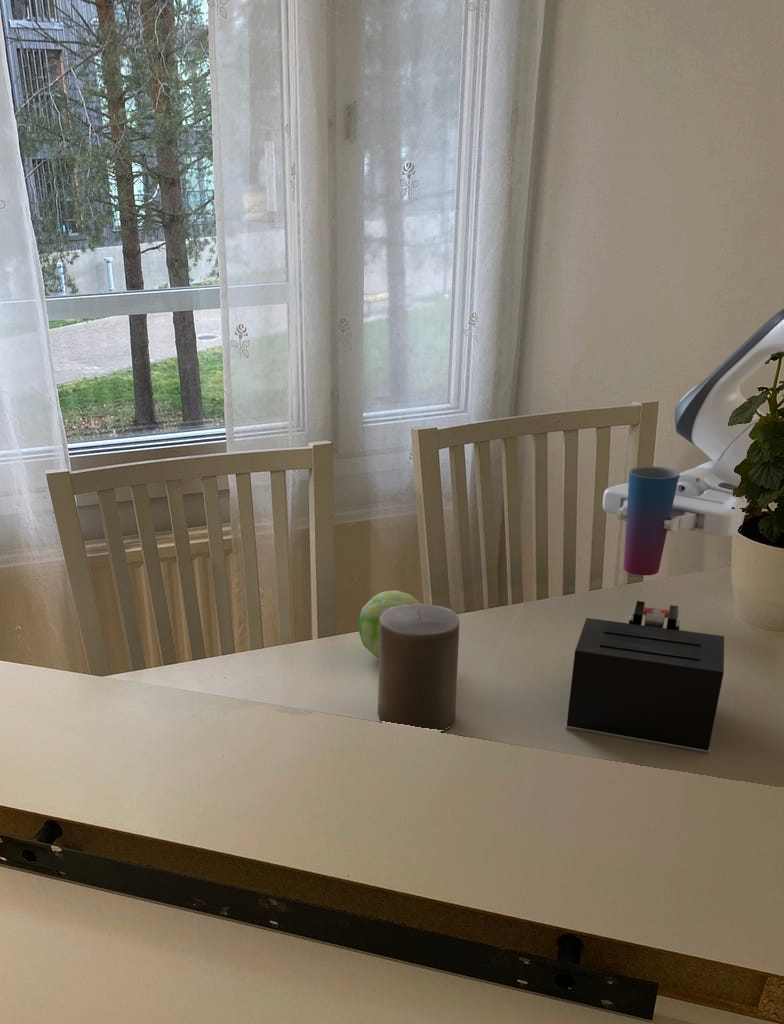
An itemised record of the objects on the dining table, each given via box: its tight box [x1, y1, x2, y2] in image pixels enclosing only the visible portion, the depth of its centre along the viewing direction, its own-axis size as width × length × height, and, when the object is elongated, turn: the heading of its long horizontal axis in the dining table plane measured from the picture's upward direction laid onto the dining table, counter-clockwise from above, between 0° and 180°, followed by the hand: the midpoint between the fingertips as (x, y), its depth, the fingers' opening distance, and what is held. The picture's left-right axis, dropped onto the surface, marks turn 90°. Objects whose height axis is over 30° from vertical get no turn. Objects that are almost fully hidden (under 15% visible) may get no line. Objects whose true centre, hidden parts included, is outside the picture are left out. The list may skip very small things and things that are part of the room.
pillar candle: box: [377, 603, 460, 731], centre depth 112 cm, size 10×10×15 cm
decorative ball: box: [358, 590, 421, 658], centre depth 128 cm, size 10×10×10 cm
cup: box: [623, 465, 680, 576], centre depth 135 cm, size 7×7×15 cm
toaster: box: [564, 617, 725, 756], centre depth 110 cm, size 16×10×11 cm, turn 67°
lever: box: [643, 606, 680, 628], centre depth 119 cm, size 12×6×2 cm, turn 157°
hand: (645, 520), depth 134 cm, fingers closed on cup, 6 cm apart
